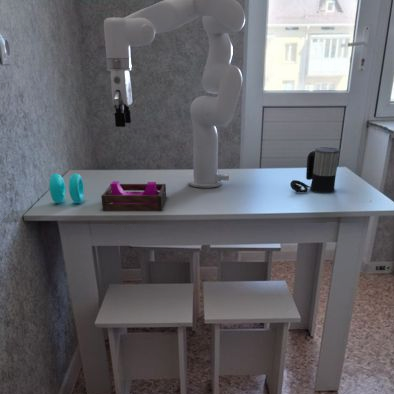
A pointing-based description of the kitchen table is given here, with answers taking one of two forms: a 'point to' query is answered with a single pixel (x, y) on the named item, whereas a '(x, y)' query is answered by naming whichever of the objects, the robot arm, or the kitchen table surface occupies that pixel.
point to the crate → (134, 199)
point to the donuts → (59, 188)
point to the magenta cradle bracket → (149, 190)
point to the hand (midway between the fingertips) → (123, 124)
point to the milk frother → (320, 171)
